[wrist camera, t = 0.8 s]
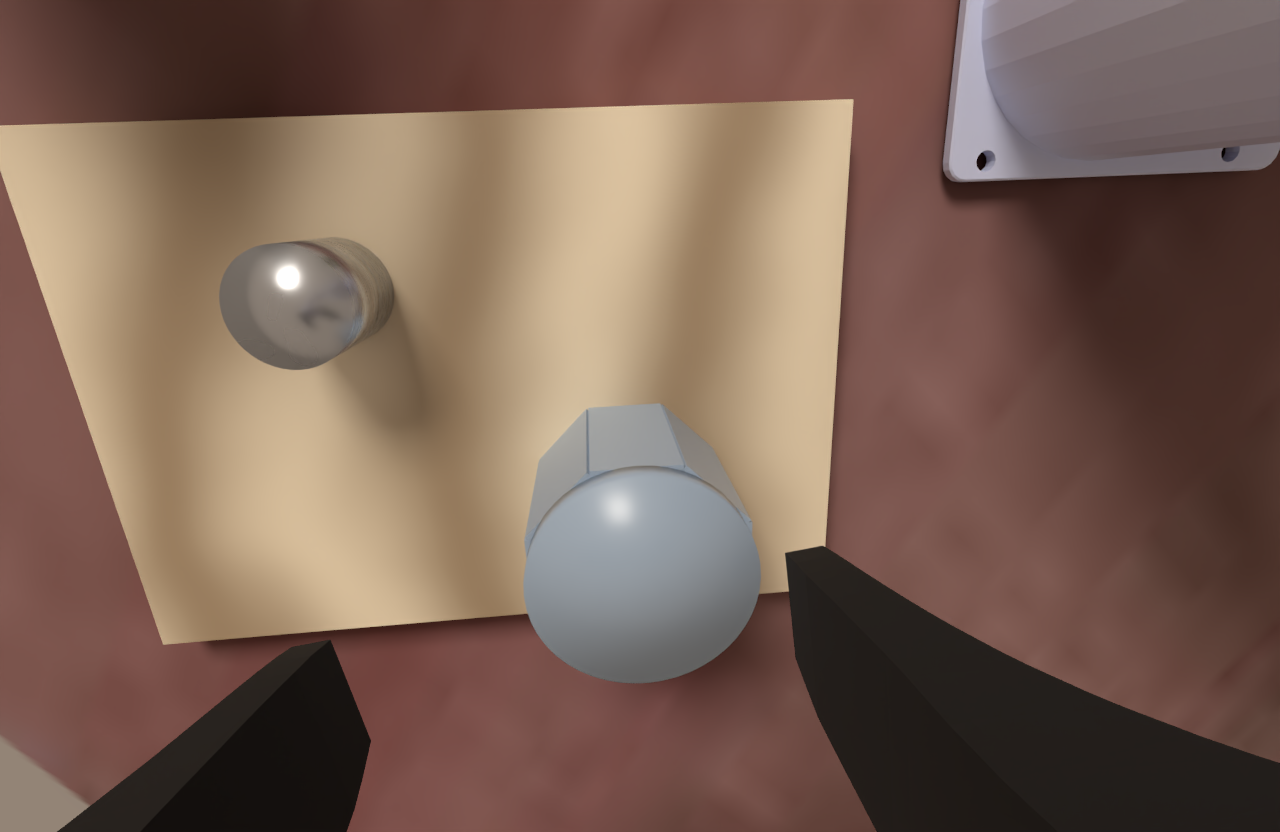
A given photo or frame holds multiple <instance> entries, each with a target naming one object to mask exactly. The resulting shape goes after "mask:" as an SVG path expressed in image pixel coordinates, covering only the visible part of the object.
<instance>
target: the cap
mask: <svg viewBox="0 0 1280 832" xmlns="http://www.w3.org/2000/svg"><path fill="white" fill-rule="evenodd" d="M524 542H525V551H526V566H525V573H524V582H523V586H524V599H525V605H526V610H527V612H528V615H529V618H530V621H531V623H532V625H533V627H534V629H535V631H536V632H537V634H538V636H539V637H540V638H541V640H542V641H543V642H544V644H545V645H546V646H547V647H548V648H549V649H550V650H551V651H552V652H553V653H554V654H555V655H556V656H557V657H559V658H560V659H561V660H563V661H564V662H565V663H567V664H568V665H570V666H572V667H574V668H575V669H577V670H579V671H581V672H584V673H586V674H588V675H590V676H594V677H597V678H600V679H604V680H608V681H614V682H620V683H650V682H657V681H663V680H667V679H671V678H675V677H678V676H681V675H684V674H686V673H689V672H691V671H693V670H695V669H697V668H699V667H701V666H703V665H705V664H706V663H708V662H710V661H711V660H713V659H714V658H716V657H717V656H718V655H719V654H721V653H722V652H723V651H724V650H725V649H727V648H728V647H729V646H730V644H731V643H732V642H733V641H734V640H735V639H736V638H737V637H738V635H739V634H740V633H741V631H742V630H743V629H744V627H745V626H746V624H747V622H748V620H749V619H750V617H751V615H752V613H753V610H754V608H755V605H756V603H757V598H758V594H759V590H760V581H761V567H760V559H759V554H758V550H757V547H756V544H755V542H754V539H753V537H752V521H751V518H750V517H749V515H748V513H747V511H746V509H745V507H744V505H743V504H742V502H741V500H740V498H739V496H738V494H737V492H736V490H735V489H734V487H733V485H732V483H731V481H730V479H729V477H728V476H727V474H726V472H725V470H724V468H723V466H722V464H721V463H720V461H719V459H718V457H717V455H716V453H715V451H714V449H713V448H712V447H711V446H710V445H709V444H708V443H707V442H705V441H704V440H703V439H702V438H701V437H700V436H699V435H697V434H696V433H695V432H694V431H693V430H692V429H690V428H689V427H688V426H687V425H686V424H685V423H684V422H682V421H681V420H680V419H679V418H678V417H677V416H676V415H674V414H673V413H672V412H671V411H670V410H669V409H668V408H666V407H665V406H664V405H663V404H662V405H661V404H660V403H657V404H641V405H625V406H609V407H594V408H588V410H587V409H586V410H585V411H584V412H583V413H582V414H581V415H580V416H579V417H578V418H577V419H576V420H575V422H574V423H573V424H572V425H571V426H570V427H569V428H568V429H567V430H566V431H565V432H564V433H563V435H562V436H561V437H560V438H559V439H558V440H557V441H556V442H555V443H554V444H553V445H552V446H551V448H550V449H549V450H548V451H547V452H546V453H545V454H544V455H543V456H542V457H541V458H540V460H539V463H538V468H537V474H536V479H535V485H534V490H533V495H532V501H531V506H530V512H529V517H528V522H527V528H526V533H525V539H524Z"/></svg>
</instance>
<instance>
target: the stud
mask: <svg viewBox="0 0 1280 832" xmlns="http://www.w3.org/2000/svg"><path fill="white" fill-rule="evenodd" d="M219 304H220V310H221V314H222V317H223V320H224V322H225V324H226V326H227V329H228V330H229V332H230V333H231V335H232V336H233V338H234V339H235V340H236V341H237V343H238V344H239V345H240V346H241V347H242V348H243V349H244V350H246V351H247V352H248V353H249V354H250V355H252V356H253V357H255V358H257V359H258V360H260V361H262V362H264V363H266V364H269V365H271V366H274V367H278V368H282V369H288V370H304V369H310V368H314V367H317V366H320V365H322V364H324V363H326V362H328V361H329V360H331V359H333V358H334V357H336V356H338V355H340V354H341V353H343V352H345V351H346V350H348V349H350V348H352V347H353V346H355V345H357V344H358V343H360V342H362V341H363V340H365V339H367V338H369V337H370V336H372V335H374V334H375V333H377V332H378V331H379V330H380V329H381V328H382V327H383V326H384V325H385V324H386V322H387V321H388V319H389V317H390V315H391V312H392V309H393V305H394V288H393V284H392V280H391V277H390V275H389V273H388V271H387V269H386V267H385V266H384V264H383V263H382V262H381V260H380V259H379V258H378V257H377V256H376V255H375V254H374V253H373V252H372V251H370V250H369V249H368V248H366V247H365V246H363V245H361V244H359V243H357V242H354V241H352V240H348V239H345V238H338V237H329V238H319V239H310V240H300V241H291V242H282V243H272V244H263V245H259V246H255V247H253V248H251V249H248V250H246V251H245V252H243V253H241V254H240V255H239V256H237V257H236V258H235V259H234V260H233V261H232V262H231V264H230V265H229V266H228V268H227V269H226V271H225V273H224V275H223V278H222V280H221V284H220V290H219Z"/></svg>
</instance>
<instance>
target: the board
mask: <svg viewBox="0 0 1280 832" xmlns="http://www.w3.org/2000/svg"><path fill="white" fill-rule="evenodd" d="M852 114H853V99H845V100H813V101H781V102H748V103H716V104H684V105H652V106H619V107H587V108H555V109H522V110H490V111H458V112H425V113H393V114H361V115H329V116H296V117H264V118H232V119H199V120H167V121H135V122H103V123H70V124H38V125H6V126H0V171H1V174H2V177H3V180H4V183H5V186H6V189H7V191H8V194H9V197H10V200H11V203H12V206H13V209H14V212H15V215H16V218H17V221H18V223H19V226H20V229H21V232H22V235H23V238H24V241H25V244H26V247H27V250H28V253H29V255H30V258H31V261H32V264H33V267H34V270H35V273H36V276H37V279H38V282H39V285H40V287H41V290H42V293H43V296H44V299H45V302H46V305H47V308H48V311H49V314H50V317H51V319H52V322H53V325H54V328H55V331H56V334H57V337H58V340H59V343H60V346H61V348H62V351H63V354H64V357H65V360H66V363H67V366H68V369H69V372H70V375H71V378H72V380H73V383H74V386H75V389H76V392H77V395H78V398H79V401H80V404H81V407H82V410H83V412H84V415H85V418H86V421H87V424H88V427H89V430H90V433H91V436H92V439H93V442H94V444H95V447H96V450H97V453H98V456H99V459H100V462H101V465H102V468H103V471H104V474H105V476H106V479H107V482H108V485H109V488H110V491H111V494H112V497H113V500H114V503H115V506H116V508H117V511H118V514H119V517H120V520H121V523H122V526H123V529H124V532H125V535H126V538H127V540H128V543H129V546H130V549H131V552H132V555H133V558H134V561H135V564H136V567H137V570H138V572H139V575H140V578H141V581H142V584H143V587H144V590H145V593H146V596H147V599H148V602H149V604H150V607H151V610H152V613H153V616H154V619H155V622H156V625H157V628H158V631H159V634H160V636H161V639H162V642H163V645H164V644H176V643H187V642H199V641H211V640H223V639H234V638H246V637H258V636H270V635H281V634H293V633H305V632H317V631H329V630H340V629H352V628H364V627H376V626H387V625H399V624H411V623H423V622H434V621H446V620H458V619H470V618H481V617H493V616H505V615H517V614H528V612H527V610H526V605H525V599H524V586H523V582H524V573H525V566H526V551H525V542H524V539H525V533H526V528H527V522H528V517H529V512H530V506H531V501H532V495H533V490H534V485H535V479H536V474H537V468H538V463H539V460H540V458H541V457H542V456H543V455H544V454H545V453H546V452H547V451H548V450H549V449H550V448H551V446H552V445H553V444H554V443H555V442H556V441H557V440H558V439H559V438H560V437H561V436H562V435H563V433H564V432H565V431H566V430H567V429H568V428H569V427H570V426H571V425H572V424H573V423H574V422H575V420H576V419H577V418H578V417H579V416H580V415H581V414H582V413H583V412H584V411H585V410H586V409H587V410H588V408H594V407H609V406H625V405H641V404H657V403H660V404H661V405H662V404H663V405H664V406H665V407H666V408H668V409H669V410H670V411H671V412H672V413H673V414H674V415H676V416H677V417H678V418H679V419H680V420H681V421H682V422H684V423H685V424H686V425H687V426H688V427H689V428H690V429H692V430H693V431H694V432H695V433H696V434H697V435H699V436H700V437H701V438H702V439H703V440H704V441H705V442H707V443H708V444H709V445H710V446H711V447H712V448H713V449H714V451H715V453H716V455H717V457H718V459H719V461H720V463H721V464H722V466H723V468H724V470H725V472H726V474H727V476H728V477H729V479H730V481H731V483H732V485H733V487H734V489H735V490H736V492H737V494H738V496H739V498H740V500H741V502H742V504H743V505H744V507H745V509H746V511H747V513H748V515H749V517H750V518H751V521H752V537H753V539H754V542H755V544H756V547H757V550H758V554H759V559H760V567H761V581H760V590H759V594H764V593H776V592H787V591H789V588H788V578H787V568H786V558H785V553H787V552H792V551H797V550H802V549H808V548H813V547H818V546H824V547H825V542H826V526H827V510H828V494H829V479H830V463H831V447H832V431H833V415H834V399H835V383H836V368H837V352H838V336H839V320H840V304H841V288H842V273H843V257H844V241H845V225H846V209H847V193H848V177H849V162H850V146H851V130H852ZM329 237H338V238H345V239H348V240H352V241H354V242H357V243H359V244H361V245H363V246H365V247H366V248H368V249H369V250H370V251H372V252H373V253H374V254H375V255H376V256H377V257H378V258H379V259H380V260H381V262H382V263H383V264H384V266H385V267H386V269H387V271H388V273H389V275H390V277H391V280H392V284H393V288H394V305H393V309H392V312H391V315H390V317H389V319H388V321H387V322H386V324H385V325H384V326H383V327H382V328H381V329H380V330H379V331H378V332H377V333H375V334H374V335H372V336H370V337H369V338H367V339H365V340H363V341H362V342H360V343H358V344H357V345H355V346H353V347H352V348H350V349H348V350H346V351H345V352H343V353H341V354H340V355H338V356H336V357H334V358H333V359H331V360H329V361H328V362H326V363H324V364H322V365H320V366H317V367H314V368H310V369H304V370H288V369H282V368H278V367H274V366H271V365H269V364H266V363H264V362H262V361H260V360H258V359H257V358H255V357H253V356H252V355H250V354H249V353H248V352H247V351H246V350H244V349H243V348H242V347H241V346H240V345H239V344H238V343H237V341H236V340H235V339H234V338H233V336H232V335H231V333H230V332H229V330H228V329H227V326H226V324H225V322H224V320H223V317H222V314H221V310H220V304H219V290H220V284H221V280H222V278H223V275H224V273H225V271H226V269H227V268H228V266H229V265H230V264H231V262H232V261H233V260H234V259H235V258H236V257H237V256H239V255H240V254H241V253H243V252H245V251H246V250H248V249H251V248H253V247H255V246H259V245H263V244H272V243H282V242H291V241H300V240H310V239H319V238H329Z"/></svg>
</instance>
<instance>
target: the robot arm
mask: <svg viewBox="0 0 1280 832" xmlns="http://www.w3.org/2000/svg"><path fill="white" fill-rule="evenodd" d="M1223 148H1226V151H1225V155H1224V157H1223V158H1222V157H1221V152H1222V150H1223ZM1279 150H1280V0H960V8H959V18H958V27H957V36H956V46H955V55H954V64H953V73H952V83H951V92H950V101H949V111H948V120H947V129H946V138H945V148H944V157H943V171H944V173H945V175H946V177H947V178H948V179H950V180H951V181H954V182H977V181H1002V180H1026V179H1051V178H1075V177H1100V176H1125V175H1149V174H1174V173H1198V172H1223V171H1247V170H1259V169H1263V168H1265V167H1267V166H1268V165H1270V164H1271V163H1272V162H1273V160H1274V159H1275V158H1276V157H1277V154H1278V152H1279ZM982 152H983V153H984V155H985V156H986V161H987V162H986V165H985V167H984V168H983V169H982V170H981V171H980V170H979V169H978V167H977V162H976V161H977V158H978V156H979V155H980V154H981V153H982ZM785 558H786V568H787V578H788V588H789V598H790V607H791V617H792V627H793V637H794V647H795V657H796V660H797V663H798V666H799V668H800V671H801V674H802V676H803V679H804V682H805V684H806V687H807V690H808V692H809V695H810V698H811V700H812V703H813V705H814V708H815V710H816V713H817V716H818V718H819V720H820V722H821V724H822V726H823V728H824V730H825V732H826V734H827V736H828V738H829V740H830V742H831V744H832V746H833V748H834V750H835V752H836V754H837V756H838V758H839V760H840V761H841V763H842V765H843V767H844V769H845V771H846V773H847V775H848V777H849V779H850V781H851V783H852V785H853V787H854V789H855V790H856V792H857V794H858V796H859V798H860V800H861V802H862V804H863V806H864V808H865V810H866V812H867V814H868V816H869V818H870V819H871V821H872V823H873V825H874V827H875V829H876V831H877V832H1280V763H1278V762H1275V761H1271V760H1268V759H1265V758H1262V757H1259V756H1256V755H1253V754H1250V753H1247V752H1244V751H1241V750H1239V749H1236V748H1233V747H1230V746H1227V745H1224V744H1221V743H1218V742H1215V741H1212V740H1210V739H1207V738H1204V737H1201V736H1198V735H1196V734H1193V733H1190V732H1188V731H1185V730H1182V729H1180V728H1177V727H1175V726H1172V725H1169V724H1167V723H1164V722H1161V721H1159V720H1156V719H1154V718H1151V717H1148V716H1146V715H1143V714H1140V713H1138V712H1135V711H1133V710H1130V709H1127V708H1125V707H1122V706H1120V705H1117V704H1115V703H1113V702H1110V701H1108V700H1105V699H1103V698H1101V697H1098V696H1096V695H1093V694H1091V693H1089V692H1086V691H1084V690H1082V689H1080V688H1077V687H1075V686H1073V685H1071V684H1069V683H1066V682H1064V681H1062V680H1060V679H1057V678H1055V677H1053V676H1051V675H1049V674H1046V673H1044V672H1042V671H1040V670H1038V669H1035V668H1033V667H1031V666H1029V665H1027V664H1025V663H1023V662H1021V661H1019V660H1017V659H1014V658H1012V657H1010V656H1008V655H1006V654H1004V653H1002V652H1000V651H998V650H997V649H995V648H993V647H991V646H989V645H987V644H985V643H983V642H982V641H980V640H978V639H976V638H974V637H972V636H970V635H968V634H967V633H965V632H963V631H961V630H959V629H957V628H955V627H954V626H952V625H950V624H948V623H947V622H945V621H943V620H941V619H940V618H938V617H936V616H934V615H933V614H931V613H929V612H927V611H926V610H924V609H922V608H921V607H919V606H917V605H916V604H914V603H912V602H911V601H909V600H907V599H906V598H904V597H903V596H901V595H899V594H898V593H896V592H895V591H893V590H891V589H890V588H888V587H887V586H885V585H883V584H882V583H880V582H879V581H877V580H876V579H874V578H872V577H871V576H869V575H868V574H866V573H865V572H863V571H862V570H860V569H859V568H857V567H855V566H854V565H852V564H851V563H849V562H848V561H846V560H845V559H843V558H842V557H840V556H839V555H837V554H836V553H834V552H832V551H831V550H829V549H828V548H826V547H824V546H818V547H813V548H808V549H802V550H797V551H792V552H787V553H785ZM370 743H371V740H370V737H369V735H368V732H367V730H366V727H365V725H364V722H363V720H362V717H361V715H360V712H359V710H358V707H357V705H356V702H355V700H354V697H353V695H352V692H351V690H350V687H349V685H348V682H347V680H346V677H345V675H344V672H343V670H342V667H341V665H340V662H339V660H338V657H337V655H336V652H335V650H334V647H333V645H332V643H331V640H326V641H321V642H316V643H311V644H305V645H300V646H295V647H291V648H289V649H288V650H287V651H285V652H284V653H282V654H281V655H279V656H278V657H276V658H275V659H274V660H272V661H271V662H270V663H268V664H267V665H266V666H265V667H263V668H262V669H261V670H259V671H258V672H257V673H256V674H254V675H253V676H252V677H251V678H249V679H248V680H247V681H246V682H244V683H243V684H242V685H241V686H239V687H238V688H237V689H236V690H234V691H233V692H232V693H231V694H230V695H228V696H227V697H226V698H225V699H223V700H222V701H221V702H220V703H219V704H217V705H216V706H215V707H214V708H212V709H211V710H210V711H209V712H208V713H206V714H205V715H204V716H203V717H201V718H200V719H199V720H198V721H197V722H195V723H194V724H193V725H192V726H190V727H189V728H188V729H187V730H186V731H184V732H183V733H182V734H181V735H179V736H178V737H177V738H176V739H175V740H173V741H172V742H171V743H170V744H168V745H167V746H166V747H165V748H164V749H162V750H161V751H160V752H159V753H157V754H156V755H155V756H154V757H153V758H151V759H150V760H149V761H148V762H146V763H145V764H144V765H142V766H141V767H140V768H139V769H137V770H136V771H135V772H133V773H132V774H131V775H130V776H128V777H127V778H126V779H124V780H123V781H122V782H121V783H119V784H118V785H117V786H115V787H114V788H113V789H112V790H110V791H109V792H108V793H106V794H105V795H104V796H103V797H101V798H100V799H99V800H97V801H96V802H95V803H94V804H92V805H91V806H90V807H88V808H87V809H86V810H85V811H83V812H82V813H81V814H80V815H78V816H77V817H76V818H74V819H73V820H72V821H71V822H69V823H68V824H67V825H65V827H63V828H61V829H60V830H59V831H57V832H346V831H347V829H348V826H349V823H350V820H351V818H352V815H353V812H354V809H355V805H356V801H357V797H358V794H359V790H360V786H361V782H362V778H363V774H364V769H365V765H366V760H367V756H368V752H369V747H370Z"/></svg>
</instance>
